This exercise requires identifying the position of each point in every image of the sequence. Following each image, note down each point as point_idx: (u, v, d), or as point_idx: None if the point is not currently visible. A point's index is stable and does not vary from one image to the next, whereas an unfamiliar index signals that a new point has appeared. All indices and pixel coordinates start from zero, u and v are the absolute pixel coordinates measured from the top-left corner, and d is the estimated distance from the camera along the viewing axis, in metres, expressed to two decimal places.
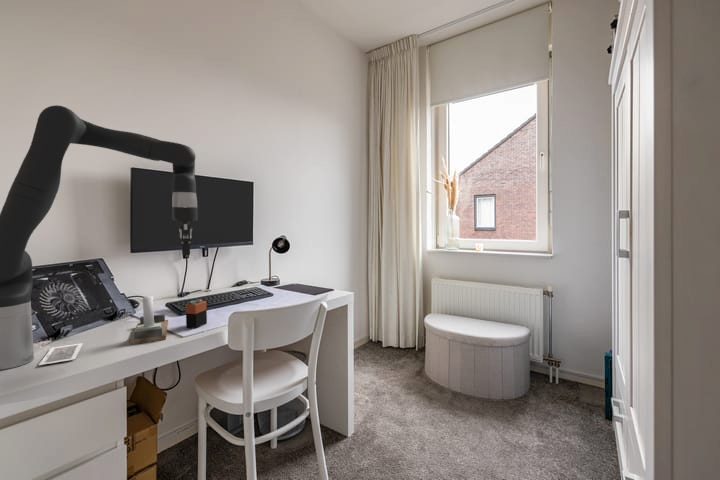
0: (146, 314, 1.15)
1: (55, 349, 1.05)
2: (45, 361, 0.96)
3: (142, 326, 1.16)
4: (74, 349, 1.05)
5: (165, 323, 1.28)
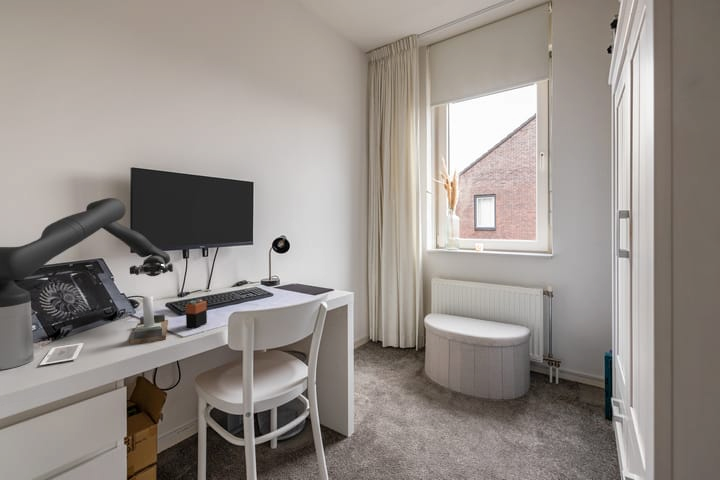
0: (146, 314, 1.15)
1: (56, 349, 1.05)
2: (46, 361, 0.96)
3: (142, 326, 1.16)
4: (74, 349, 1.05)
5: (165, 323, 1.28)
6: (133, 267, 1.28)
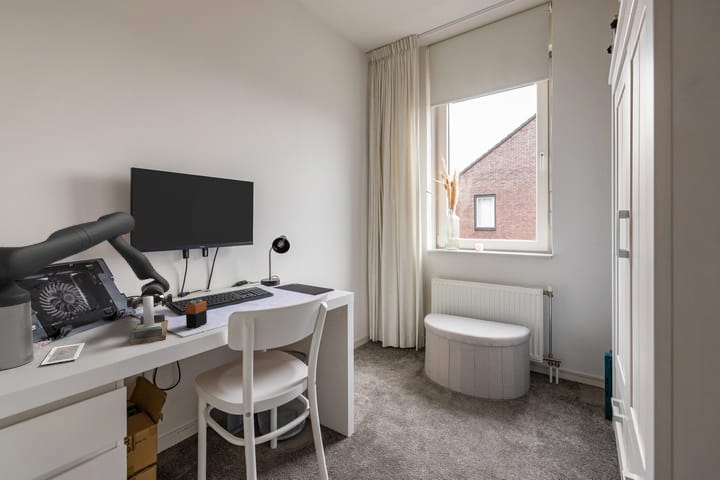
0: (146, 314, 1.15)
1: (57, 348, 1.05)
2: (47, 361, 0.96)
3: (142, 326, 1.16)
4: (76, 349, 1.05)
5: (165, 323, 1.28)
6: (130, 300, 1.21)
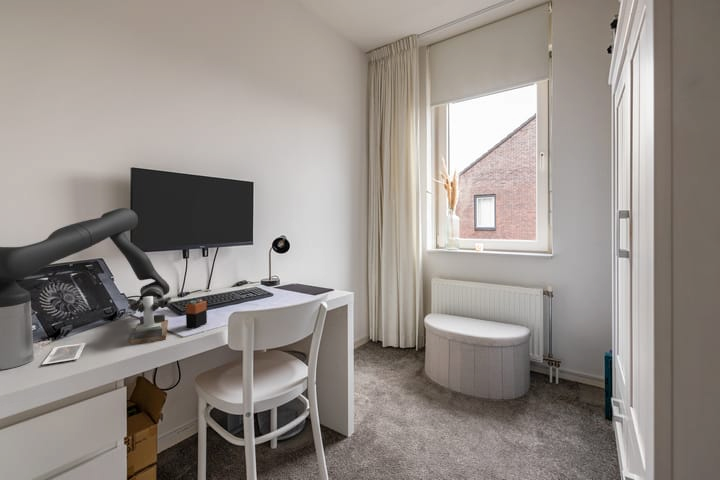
0: (146, 314, 1.15)
1: (58, 348, 1.05)
2: (48, 361, 0.96)
3: (142, 326, 1.16)
4: (77, 349, 1.05)
5: (165, 323, 1.28)
6: (136, 303, 1.17)
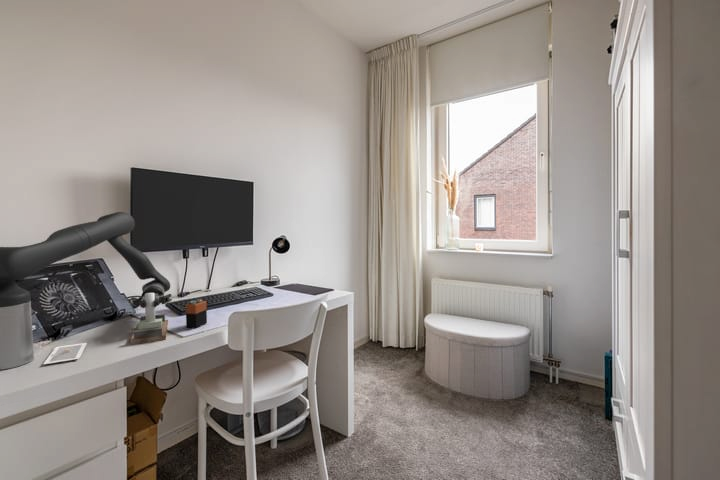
0: (148, 310, 1.20)
1: (60, 348, 1.06)
2: (49, 360, 0.97)
3: (144, 321, 1.21)
4: (78, 349, 1.05)
5: (165, 323, 1.28)
6: (138, 299, 1.22)
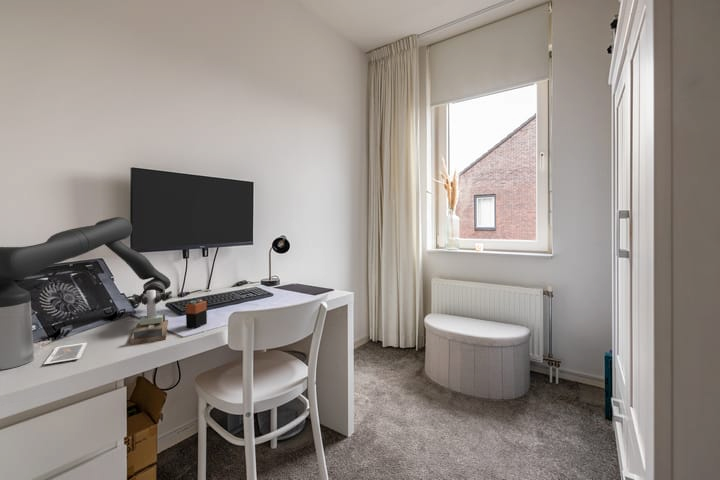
0: (149, 306, 1.25)
1: (60, 348, 1.06)
2: (50, 360, 0.97)
3: (145, 317, 1.26)
4: (78, 349, 1.05)
5: (165, 323, 1.28)
6: (140, 296, 1.27)
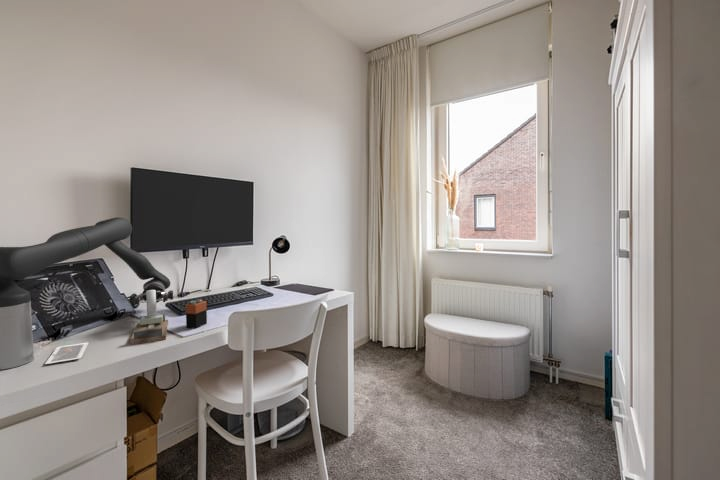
0: (149, 306, 1.25)
1: (61, 348, 1.06)
2: (51, 360, 0.97)
3: (145, 317, 1.26)
4: (79, 348, 1.05)
5: (165, 323, 1.28)
6: (133, 296, 1.27)
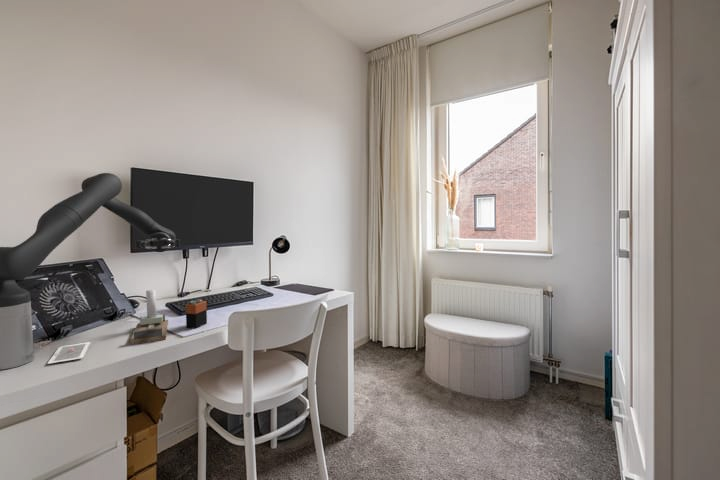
0: (149, 306, 1.25)
1: (63, 348, 1.06)
2: (54, 360, 0.97)
3: (145, 317, 1.26)
4: (81, 348, 1.06)
5: (165, 323, 1.28)
6: (139, 241, 1.23)
